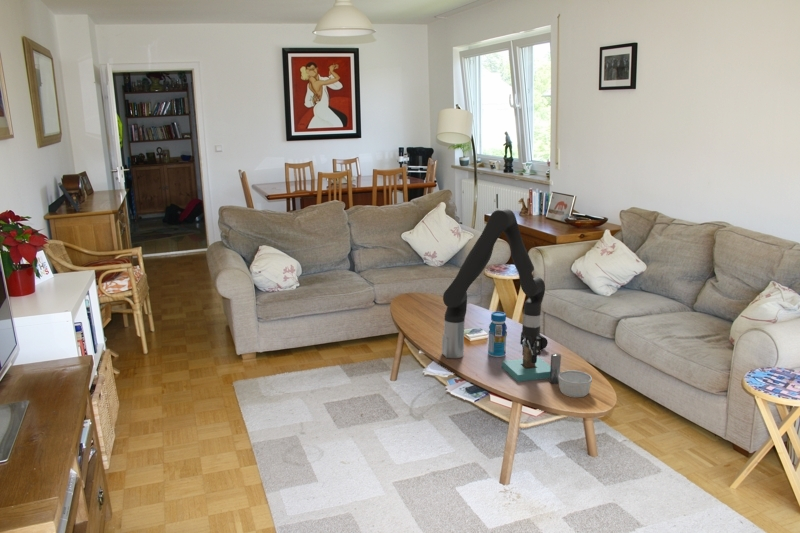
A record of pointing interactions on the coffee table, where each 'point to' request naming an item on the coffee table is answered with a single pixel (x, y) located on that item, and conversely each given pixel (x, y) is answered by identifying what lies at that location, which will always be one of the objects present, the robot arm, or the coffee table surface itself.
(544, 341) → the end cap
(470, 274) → the robot arm
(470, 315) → the coffee table surface
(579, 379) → the ramekin
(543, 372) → the socket block
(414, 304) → the coffee table surface
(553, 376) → the round peg
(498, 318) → the beverage bottle
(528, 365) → the square peg
